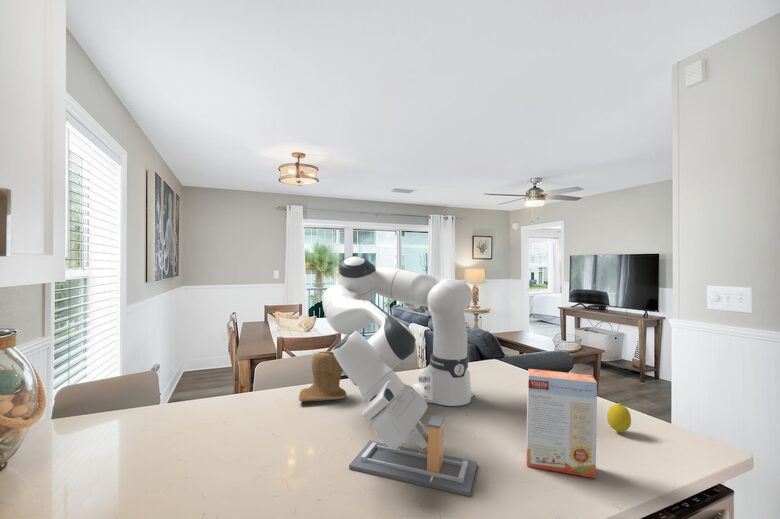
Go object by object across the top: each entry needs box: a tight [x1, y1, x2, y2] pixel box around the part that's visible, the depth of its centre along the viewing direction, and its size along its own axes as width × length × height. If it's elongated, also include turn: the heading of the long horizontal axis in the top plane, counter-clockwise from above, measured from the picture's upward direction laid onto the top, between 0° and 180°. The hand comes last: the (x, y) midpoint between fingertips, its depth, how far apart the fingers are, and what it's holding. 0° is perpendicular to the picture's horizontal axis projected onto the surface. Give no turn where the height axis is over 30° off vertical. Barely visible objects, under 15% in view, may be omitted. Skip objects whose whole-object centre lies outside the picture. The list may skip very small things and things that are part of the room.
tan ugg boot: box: [298, 351, 347, 402], centre depth 124 cm, size 15×12×15 cm
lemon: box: [606, 403, 632, 434], centre depth 104 cm, size 6×6×8 cm
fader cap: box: [427, 414, 446, 473], centre depth 83 cm, size 3×5×10 cm, turn 161°
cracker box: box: [526, 368, 598, 479], centre depth 86 cm, size 14×6×21 cm, turn 71°
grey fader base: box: [348, 440, 478, 497], centre depth 85 cm, size 26×12×2 cm, turn 71°
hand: (427, 444), depth 83 cm, fingers closed
